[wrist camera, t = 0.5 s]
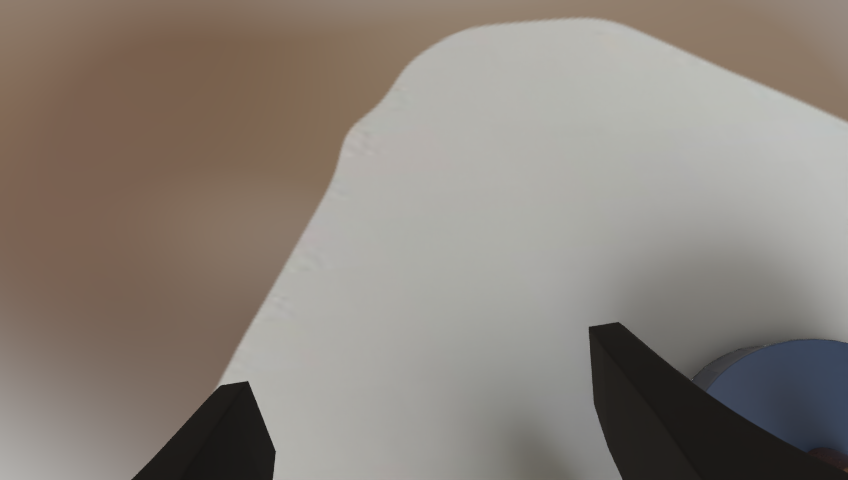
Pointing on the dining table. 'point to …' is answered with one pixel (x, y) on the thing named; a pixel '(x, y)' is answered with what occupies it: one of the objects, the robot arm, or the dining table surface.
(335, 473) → the dining table surface
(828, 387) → the pot lid
